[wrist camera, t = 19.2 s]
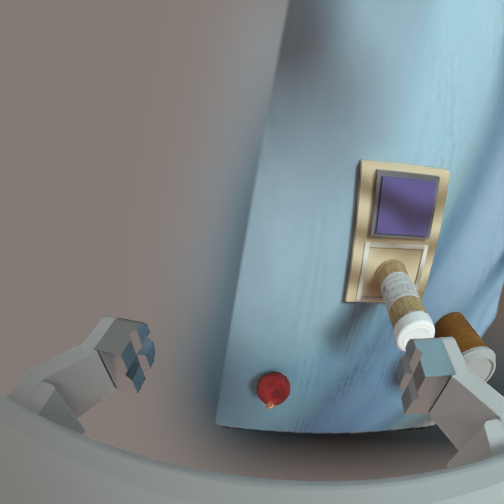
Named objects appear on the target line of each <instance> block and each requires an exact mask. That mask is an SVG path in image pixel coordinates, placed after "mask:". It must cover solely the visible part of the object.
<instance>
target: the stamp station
mask: <svg viewBox="0 0 504 504" xmlns="http://www.w3.org/2000/svg"><path fill="white" fill-rule="evenodd" d="M449 176H450V171H449V170H447V169H442V168H435V167H428V166H420V165H412V164H403V163H394V162H383V161H372V160H360V175H359V188H358V200H357V210H356V220H355V229H354V238H353V246H352V254H351V262H350V269H349V276H348V282H347V289H346V295H345V298H346V302H384V299H383V295H382V292H381V288H380V285H379V283H378V281H377V278H376V275H377V274H376V273H377V270H378V268H379V267H380V265H381V264H382V263H384V262H385V261H388V260H392V259H394V260H399V261H401V262H402V263H403V264H404V265H405V267H406V270H407V272H408V274H409V276H410V277H411V279H412V281H413V283H414V285H415V287H416V289H417V292H418V294H419V297H420V299H421V301H422V298H423V295H424V291H425V288H426V284H427V281H428V277H429V274H430V270H431V266H432V262H433V258H434V254H435V250H436V246H437V242H438V237H439V232H440V228H441V223H442V218H443V213H444V207H445V201H446V196H447V189H448V183H449Z"/></svg>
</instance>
